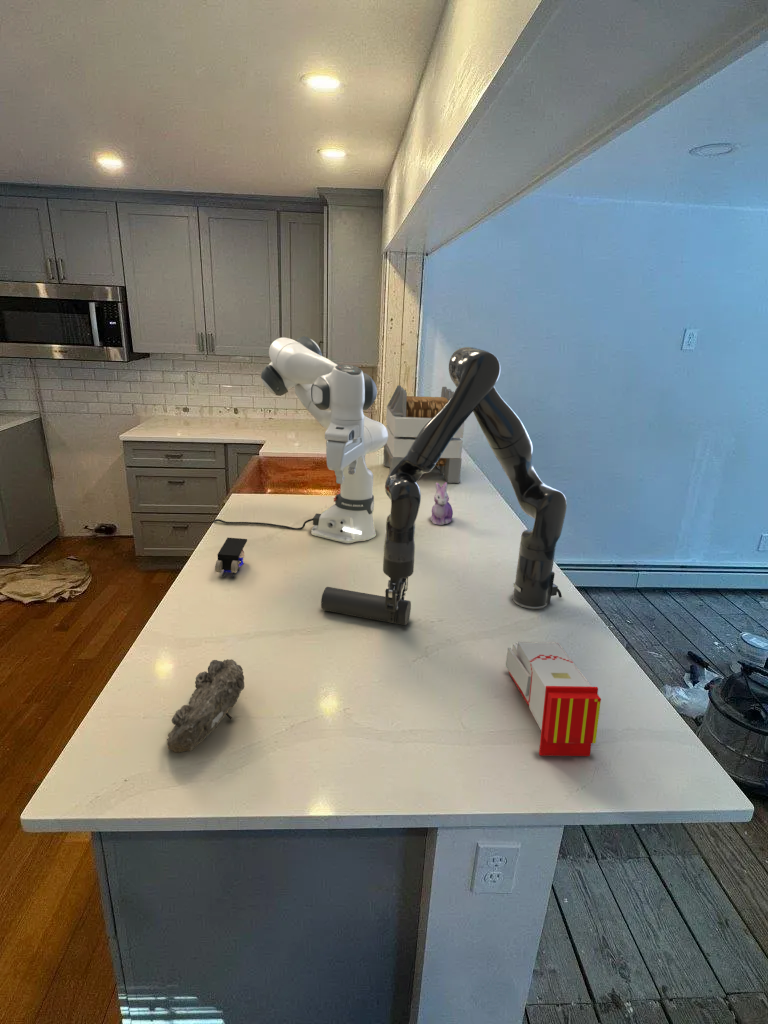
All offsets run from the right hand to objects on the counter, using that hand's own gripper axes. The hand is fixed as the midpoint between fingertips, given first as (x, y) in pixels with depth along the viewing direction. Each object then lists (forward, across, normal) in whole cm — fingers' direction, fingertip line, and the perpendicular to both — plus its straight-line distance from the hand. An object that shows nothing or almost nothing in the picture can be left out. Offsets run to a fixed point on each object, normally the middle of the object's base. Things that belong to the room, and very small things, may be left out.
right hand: (395, 615), depth 143 cm
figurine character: (+2, +12, +53) cm, 55 cm away
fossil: (+2, -46, +24) cm, 52 cm away
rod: (+2, 0, +8) cm, 8 cm away
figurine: (+2, +76, +2) cm, 76 cm away
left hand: (-28, +19, +20) cm, 40 cm away
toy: (+2, -22, -37) cm, 43 cm away
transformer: (+2, +138, +25) cm, 140 cm away
